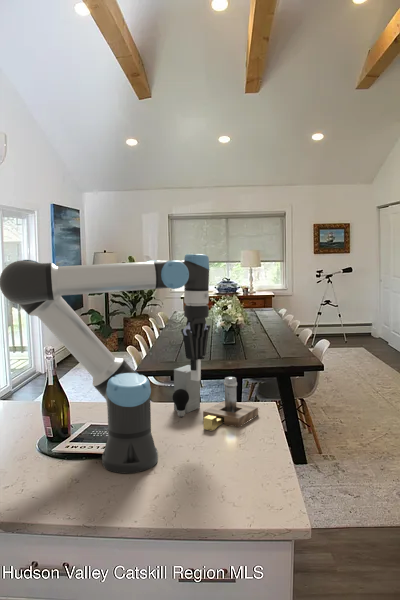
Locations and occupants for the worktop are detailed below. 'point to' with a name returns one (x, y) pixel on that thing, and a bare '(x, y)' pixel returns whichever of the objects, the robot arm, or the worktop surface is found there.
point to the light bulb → (180, 400)
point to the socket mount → (232, 419)
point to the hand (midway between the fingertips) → (195, 379)
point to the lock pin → (212, 422)
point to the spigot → (230, 394)
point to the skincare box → (187, 387)
